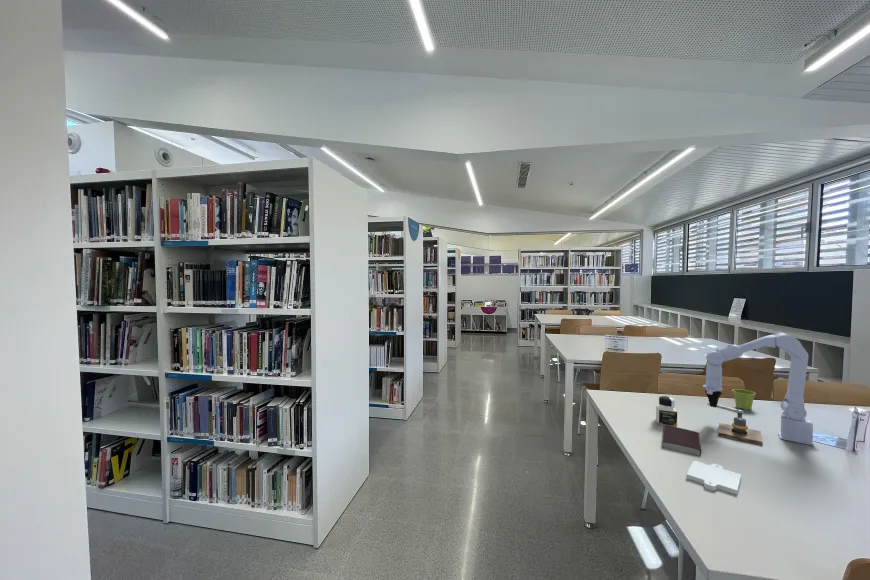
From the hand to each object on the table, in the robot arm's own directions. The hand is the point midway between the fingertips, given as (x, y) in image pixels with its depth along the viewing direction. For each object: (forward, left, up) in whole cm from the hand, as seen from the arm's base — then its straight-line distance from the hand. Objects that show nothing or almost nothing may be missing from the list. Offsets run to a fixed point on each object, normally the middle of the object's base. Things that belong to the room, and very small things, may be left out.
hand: (713, 406), depth 165 cm
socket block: (-9, +8, -8) cm, 15 cm away
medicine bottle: (+17, +13, -8) cm, 23 cm away
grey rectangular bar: (-4, 0, 0) cm, 4 cm away
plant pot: (-11, -38, -8) cm, 41 cm away
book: (+9, +33, -9) cm, 35 cm away
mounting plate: (-2, +59, -9) cm, 59 cm away
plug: (-9, +8, -8) cm, 15 cm away
